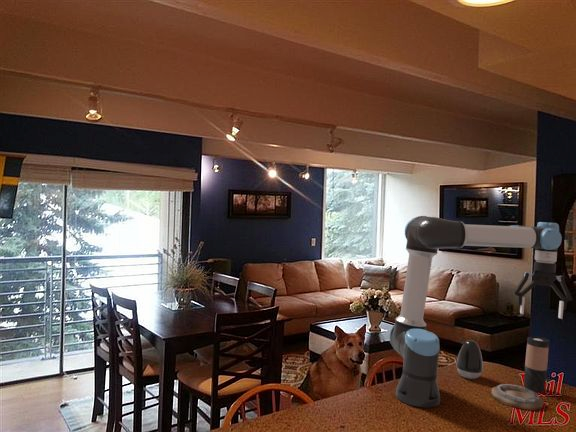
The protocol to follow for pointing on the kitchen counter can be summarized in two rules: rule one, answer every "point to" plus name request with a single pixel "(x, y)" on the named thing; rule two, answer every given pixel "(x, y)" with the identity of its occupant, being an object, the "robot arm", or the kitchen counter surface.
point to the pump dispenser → (469, 360)
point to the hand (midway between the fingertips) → (540, 315)
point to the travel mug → (536, 363)
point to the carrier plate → (517, 397)
